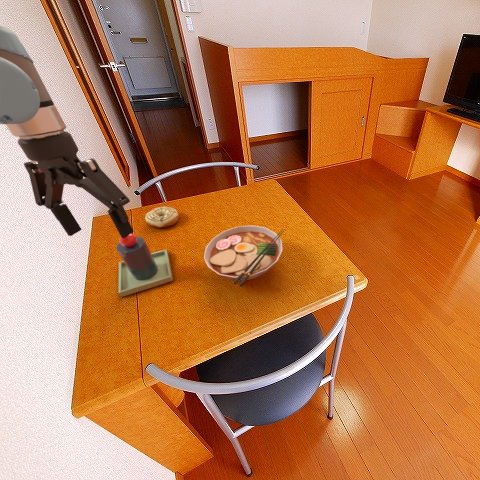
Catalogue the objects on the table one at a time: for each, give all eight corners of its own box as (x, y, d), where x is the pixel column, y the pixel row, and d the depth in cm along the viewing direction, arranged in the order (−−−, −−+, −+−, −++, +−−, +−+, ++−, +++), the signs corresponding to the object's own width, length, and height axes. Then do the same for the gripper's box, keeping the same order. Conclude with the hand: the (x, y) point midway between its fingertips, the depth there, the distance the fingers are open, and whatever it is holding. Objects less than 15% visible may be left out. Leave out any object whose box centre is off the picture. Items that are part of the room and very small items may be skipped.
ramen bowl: (241, 233, 99) (237, 214, 93) (298, 252, 92) (297, 233, 87) (190, 281, 81) (181, 261, 76) (256, 308, 74) (252, 289, 69)
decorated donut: (163, 233, 97) (159, 224, 95) (141, 224, 100) (137, 216, 98) (185, 217, 104) (182, 209, 102) (164, 210, 108) (161, 202, 105)
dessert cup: (127, 279, 80) (97, 230, 68) (141, 262, 85) (115, 215, 73) (150, 281, 80) (123, 232, 68) (162, 264, 85) (139, 216, 73)
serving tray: (121, 297, 76) (118, 292, 75) (121, 266, 84) (118, 262, 83) (172, 280, 81) (171, 276, 80) (168, 253, 90) (166, 249, 88)
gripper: (118, 127, 51) (161, 226, 62) (9, 131, 55) (69, 223, 66) (84, 137, 44) (138, 245, 56) (-37, 140, 48) (38, 240, 60)
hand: (101, 233), depth 61 cm, fingers open, 13 cm apart
